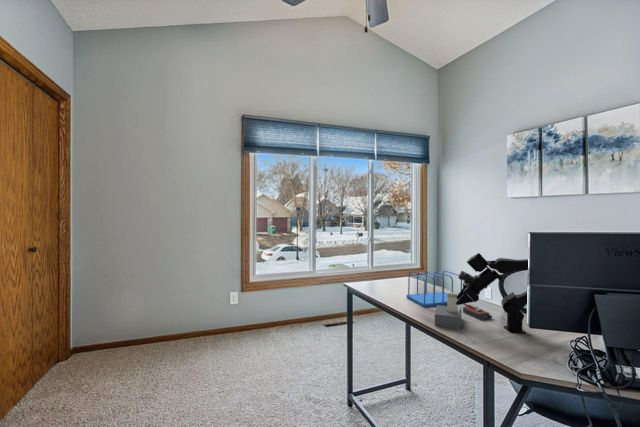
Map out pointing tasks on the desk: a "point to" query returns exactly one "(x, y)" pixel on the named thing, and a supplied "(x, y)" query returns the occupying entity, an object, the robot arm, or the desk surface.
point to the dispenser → (447, 317)
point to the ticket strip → (451, 302)
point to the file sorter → (430, 298)
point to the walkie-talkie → (476, 312)
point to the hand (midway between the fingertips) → (456, 301)
